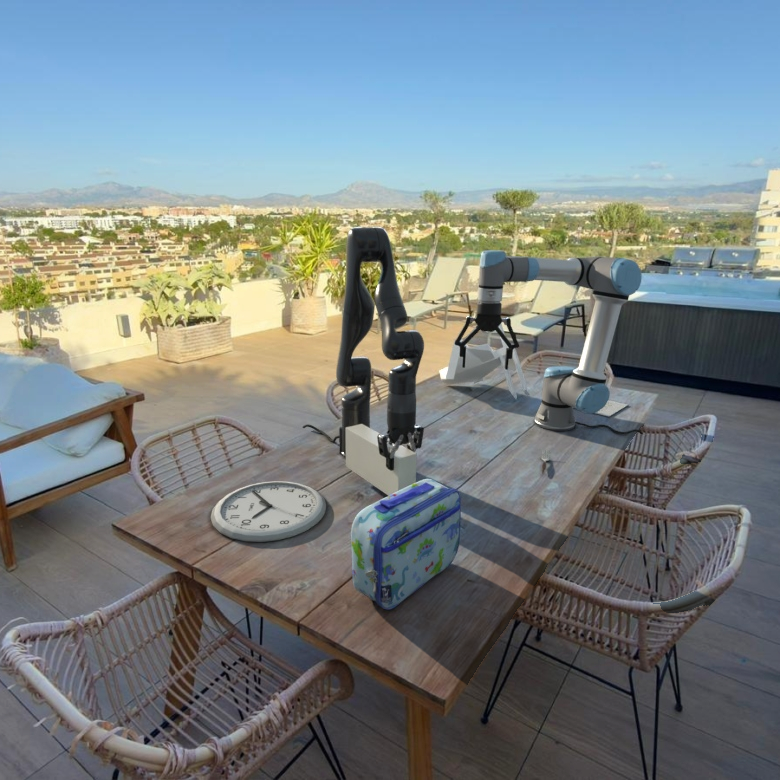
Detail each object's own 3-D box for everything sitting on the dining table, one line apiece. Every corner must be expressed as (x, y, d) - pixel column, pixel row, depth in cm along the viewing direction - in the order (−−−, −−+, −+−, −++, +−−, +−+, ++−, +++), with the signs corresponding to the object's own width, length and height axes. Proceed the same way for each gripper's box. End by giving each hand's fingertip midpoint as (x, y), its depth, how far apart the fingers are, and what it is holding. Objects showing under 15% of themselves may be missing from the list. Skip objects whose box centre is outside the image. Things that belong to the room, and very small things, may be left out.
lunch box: (380, 623, 100) (381, 528, 94) (344, 596, 108) (343, 505, 101) (464, 565, 118) (470, 482, 112) (428, 545, 125) (432, 466, 119)
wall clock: (324, 533, 126) (196, 538, 124) (324, 539, 127) (197, 544, 124) (327, 477, 155) (224, 479, 152) (327, 482, 155) (224, 484, 153)
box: (345, 466, 159) (345, 427, 155) (362, 461, 163) (361, 423, 159) (398, 502, 139) (398, 458, 135) (415, 496, 142) (416, 453, 138)
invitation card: (608, 416, 214) (573, 407, 224) (608, 416, 214) (573, 408, 224) (628, 404, 229) (594, 396, 238) (628, 405, 229) (594, 397, 238)
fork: (538, 474, 162) (538, 468, 162) (542, 454, 177) (542, 449, 176) (546, 475, 162) (547, 470, 161) (550, 455, 176) (550, 450, 175)
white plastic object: (461, 429, 252) (437, 405, 227) (444, 352, 274) (420, 323, 250) (535, 404, 240) (518, 377, 215) (510, 326, 262) (492, 293, 237)
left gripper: (387, 416, 128) (386, 478, 133) (432, 406, 137) (429, 465, 141) (370, 408, 134) (370, 468, 139) (414, 399, 142) (412, 455, 147)
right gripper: (449, 302, 161) (445, 368, 167) (532, 304, 158) (525, 372, 164) (449, 298, 168) (446, 362, 174) (528, 301, 165) (522, 366, 171)
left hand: (400, 466), depth 140 cm, fingers closed on box, 6 cm apart
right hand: (484, 367), depth 169 cm, fingers open, 13 cm apart
